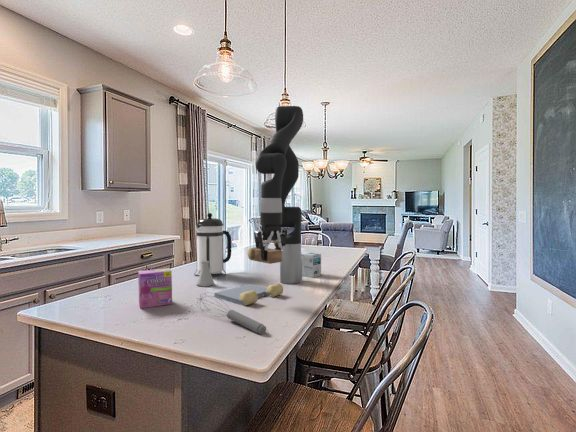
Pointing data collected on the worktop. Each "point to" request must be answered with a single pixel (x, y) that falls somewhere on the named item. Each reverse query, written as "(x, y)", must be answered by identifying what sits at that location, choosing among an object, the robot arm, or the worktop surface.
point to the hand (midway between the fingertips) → (271, 259)
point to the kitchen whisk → (239, 318)
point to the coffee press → (211, 244)
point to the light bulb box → (311, 264)
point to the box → (155, 287)
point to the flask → (205, 275)
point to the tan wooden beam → (272, 255)
